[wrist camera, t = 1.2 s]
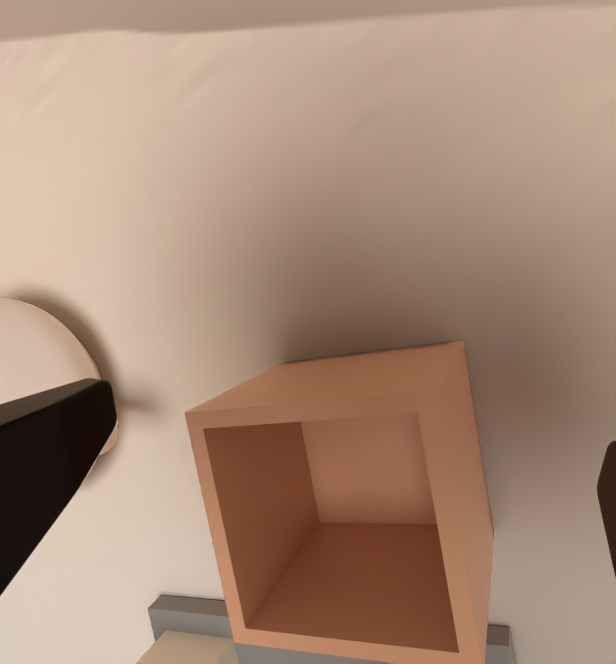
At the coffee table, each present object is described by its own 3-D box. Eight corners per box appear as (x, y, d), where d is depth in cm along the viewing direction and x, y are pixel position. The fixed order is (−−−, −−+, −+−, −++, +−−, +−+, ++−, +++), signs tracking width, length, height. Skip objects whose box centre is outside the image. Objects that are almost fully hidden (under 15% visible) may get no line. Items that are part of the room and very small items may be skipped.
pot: (493, 531, 22) (483, 674, 14) (315, 527, 25) (234, 642, 18) (462, 340, 21) (436, 390, 14) (283, 362, 24) (184, 412, 17)
